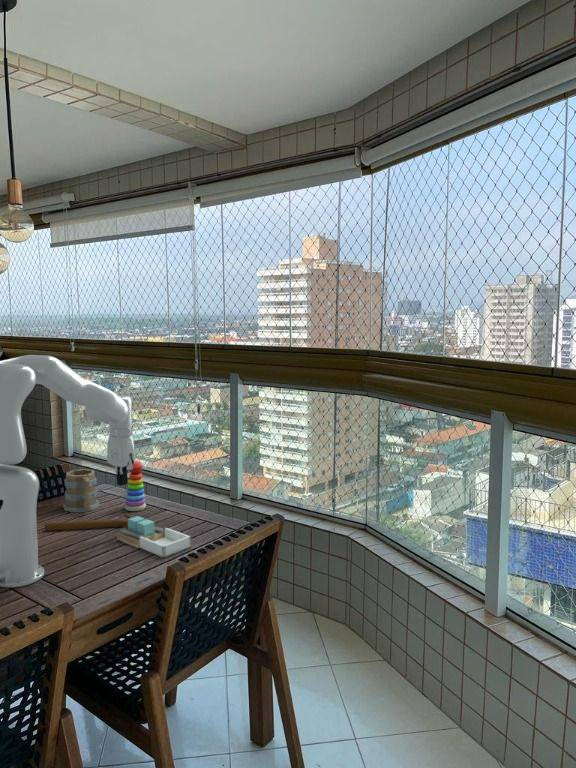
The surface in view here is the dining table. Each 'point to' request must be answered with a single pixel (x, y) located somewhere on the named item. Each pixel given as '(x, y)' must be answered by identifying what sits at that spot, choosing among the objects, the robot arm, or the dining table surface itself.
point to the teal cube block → (134, 523)
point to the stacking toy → (135, 489)
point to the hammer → (87, 524)
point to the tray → (167, 543)
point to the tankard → (80, 491)
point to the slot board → (138, 536)
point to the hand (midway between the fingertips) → (122, 484)
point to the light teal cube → (145, 527)
